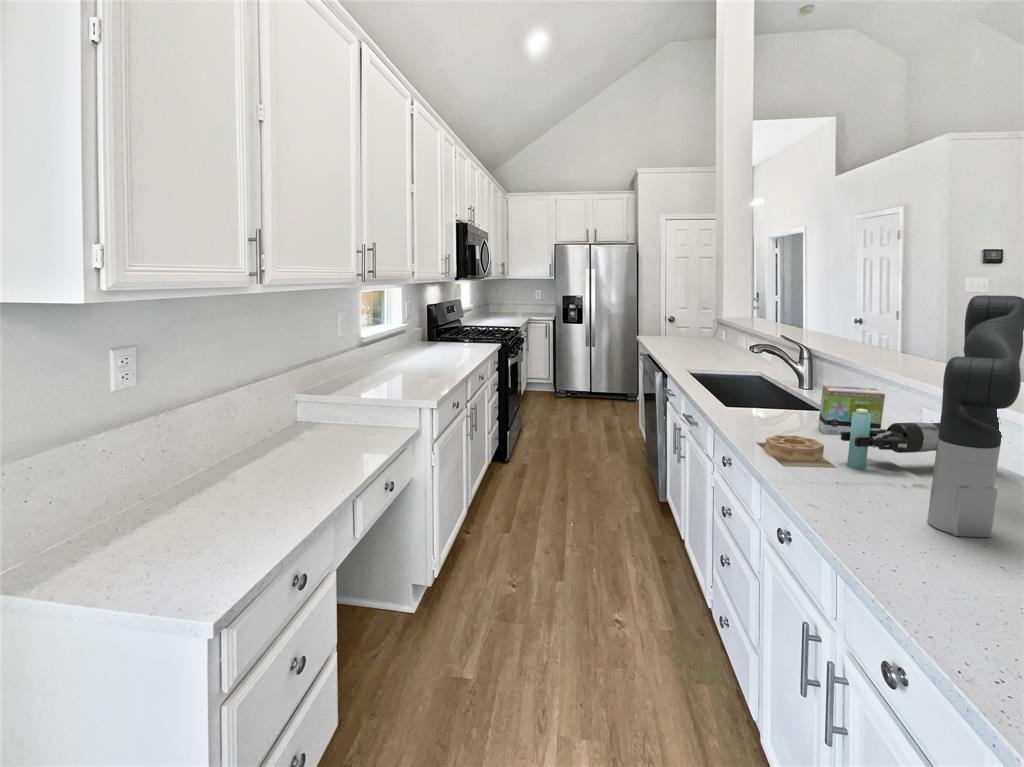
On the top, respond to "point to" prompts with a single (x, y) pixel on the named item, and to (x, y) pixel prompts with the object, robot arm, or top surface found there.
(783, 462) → the board
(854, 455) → the teal bottle
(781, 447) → the tan octagonal ring
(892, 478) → the top surface
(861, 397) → the tea box
